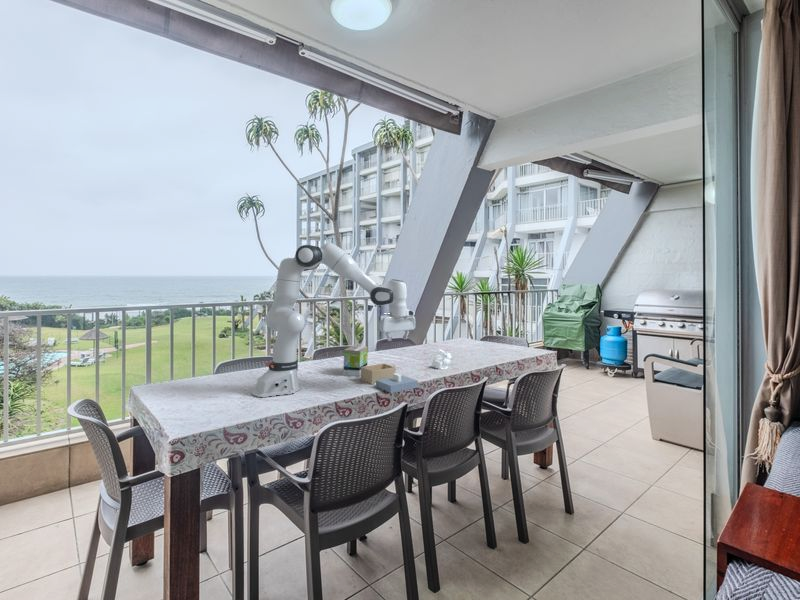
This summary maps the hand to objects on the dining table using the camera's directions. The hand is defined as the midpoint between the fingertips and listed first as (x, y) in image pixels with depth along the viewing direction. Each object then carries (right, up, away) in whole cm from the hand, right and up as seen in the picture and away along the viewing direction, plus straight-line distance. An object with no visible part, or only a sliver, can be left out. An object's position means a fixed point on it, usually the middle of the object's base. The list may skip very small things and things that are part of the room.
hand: (397, 340), depth 196 cm
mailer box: (-10, -23, +15) cm, 29 cm away
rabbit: (+27, -22, +43) cm, 56 cm away
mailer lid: (0, -24, +1) cm, 24 cm away
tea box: (-24, -22, +30) cm, 44 cm away
